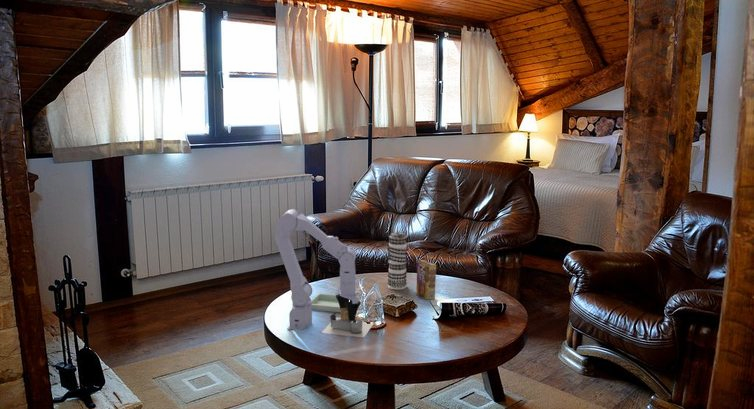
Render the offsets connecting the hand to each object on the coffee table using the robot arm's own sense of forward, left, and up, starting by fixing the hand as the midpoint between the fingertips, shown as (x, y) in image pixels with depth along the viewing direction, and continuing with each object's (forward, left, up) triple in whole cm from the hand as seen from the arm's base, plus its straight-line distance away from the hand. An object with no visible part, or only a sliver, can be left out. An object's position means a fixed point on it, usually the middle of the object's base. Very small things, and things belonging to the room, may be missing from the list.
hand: (347, 316), depth 224 cm
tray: (+19, +14, -4) cm, 24 cm away
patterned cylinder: (+53, -7, -5) cm, 54 cm away
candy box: (+43, -22, -5) cm, 48 cm away
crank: (-5, -1, -3) cm, 6 cm away
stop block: (0, 0, -3) cm, 3 cm away
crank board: (-2, -1, -4) cm, 5 cm away
